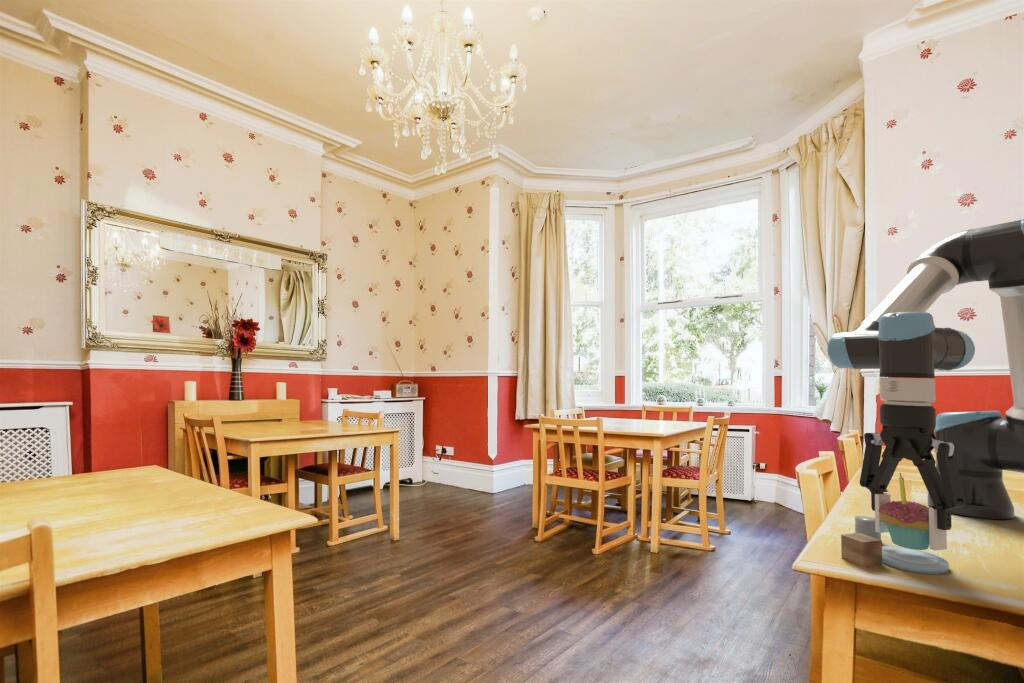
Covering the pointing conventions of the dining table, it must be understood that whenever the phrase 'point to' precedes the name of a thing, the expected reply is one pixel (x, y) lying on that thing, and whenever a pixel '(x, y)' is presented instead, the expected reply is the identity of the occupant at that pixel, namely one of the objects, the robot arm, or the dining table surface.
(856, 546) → the walnut block
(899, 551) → the saucer
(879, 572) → the dining table surface
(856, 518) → the grey cylinder
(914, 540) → the cupcake
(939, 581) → the dining table surface
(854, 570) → the dining table surface
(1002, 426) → the robot arm
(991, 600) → the dining table surface
